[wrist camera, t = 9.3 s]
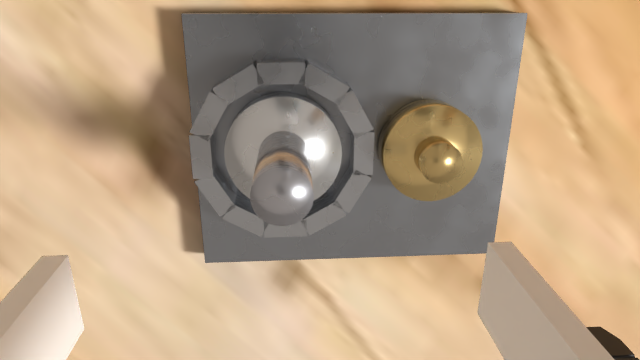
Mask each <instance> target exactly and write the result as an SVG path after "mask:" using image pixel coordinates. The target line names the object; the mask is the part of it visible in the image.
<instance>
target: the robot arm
mask: <svg viewBox="0 0 640 360" xmlns="http://www.w3.org/2000/svg"><path fill="white" fill-rule="evenodd" d="M478 315H479V317H480V318H481V320H482V322H483V324H484V325H485V327H486V329H487V331H488V332H489V334H490V336H491V337H492V339H493V341H494V343H495V344H496V346H497V348H498V349H499V351H500V353H501V355H502V356H503V358H504V360H639V359H638V358H635V356H634V354H633V353H632V352H631V351H630V349H629V348H628V347H627V346H626V345H625V344H624V343H623V342H622V341H621V340H620V339H619V338H617V337H615V336H614V335H612V334H611V333H609V332H608V331H606V330H605V329H603V328H601V327H585V325H584V324H583V323H582V322H581V321H580V320H579V319H578V317H577V316H576V315H575V314H574V313H573V312H572V311H571V309H570V308H569V307H568V306H567V305H566V304H565V303H564V301H563V300H562V299H561V298H560V297H559V296H558V295H557V293H556V292H555V291H554V290H553V289H552V288H551V287H550V285H549V284H548V283H547V282H546V281H545V280H544V279H543V277H542V276H541V275H540V274H539V273H538V272H537V271H536V269H535V268H534V267H533V266H532V265H531V264H530V263H529V262H528V260H527V259H526V258H525V257H524V256H523V255H522V254H521V252H520V251H519V250H518V249H517V248H516V247H515V246H514V244H513V243H512V242H490V243H488V246H487V253H486V260H485V266H484V273H483V279H482V286H481V293H480V299H479V306H478ZM83 330H84V325H83V321H82V316H81V312H80V307H79V303H78V298H77V294H76V289H75V285H74V280H73V275H72V271H71V266H70V262H69V257H68V255H60V256H42V257H41V258H40V259H39V260H38V261H37V262H36V263H35V264H34V266H33V267H32V268H31V269H30V270H29V271H28V272H27V273H26V274H25V276H24V277H23V278H22V279H21V280H20V281H19V282H18V283H17V284H16V286H15V287H14V288H13V289H12V290H11V291H10V292H9V293H8V294H7V296H6V297H5V298H4V299H3V300H2V301H1V302H0V360H66V359H67V357H68V355H69V354H70V352H71V350H72V349H73V347H74V345H75V344H76V342H77V340H78V338H79V337H80V335H81V333H82V332H83Z"/></svg>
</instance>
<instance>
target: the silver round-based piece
mask: <svg viewBox="0 0 640 360" xmlns="http://www.w3.org/2000/svg"><path fill="white" fill-rule="evenodd" d="M224 156H225V164H226V167H227V171H228V173H229V175H230V177H231V179H232V181H233V182H234V184H235V185H236V186H237V188H238V189H239V190H240V191H241V192H242V193H243V194H244V195H246V196H247V197H248V198H249V199H250V202H251V206H252V208H253V210H254V212H255V213H256V215H257V216H258V217H259V218H260V219H262V220H263V221H265V222H266V223H269V224H271V225H275V226H289V225H292V224H295V223H297V222H299V221H301V220H302V219H303V218H305V216H306V215H307V214H308V213H309V211H310V210H311V208H312V205H313V201H314V200H316V199H317V198H319V197H320V196H321V195H323V194H324V193H325V192H326V191H327V190H328V189H329V188H330V186H331V185H332V184H333V182H334V180H335V179H336V177H337V174H338V172H339V169H340V165H341V159H342V147H341V141H340V138H339V135H338V132H337V129H336V126H335V124H334V122H333V120H332V119H331V117H330V116H329V114H328V113H327V112H326V111H325V110H324V109H323V108H322V107H321V106H320V105H319V104H318V103H316V102H315V101H313V100H311V99H309V98H307V97H305V96H302V95H299V94H295V93H289V92H277V93H271V94H267V95H264V96H261V97H259V98H257V99H255V100H253V101H252V102H250V103H249V104H247V105H246V106H245V107H244V108H243V109H242V110H241V111H240V112H239V113H238V115H237V116H236V118H235V119H234V121H233V123H232V125H231V128H230V130H229V132H228V134H227V138H226V141H225V148H224Z"/></svg>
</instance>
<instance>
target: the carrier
mask: <svg viewBox="0 0 640 360" xmlns="http://www.w3.org/2000/svg"><path fill="white" fill-rule="evenodd" d="M526 20H527V13H182V24H183V35H184V45H185V56H186V66H187V77H188V87H189V98H190V108H191V119H192V128H191V130H190V134H189V143H190V153H191V163H192V173H193V179H196V180H195V184H196V185H197V186H198V192H199V202H200V213H201V223H202V234H203V244H204V255H205V263H212V262H242V261H272V260H301V259H331V258H360V257H390V256H420V255H449V254H479V253H487V246H488V243H490V242H494V238H495V232H496V225H497V218H498V211H499V204H500V197H501V191H502V184H503V177H504V170H505V163H506V156H507V150H508V143H509V136H510V129H511V122H512V115H513V109H514V102H515V95H516V88H517V81H518V74H519V68H520V61H521V54H522V47H523V40H524V33H525V27H526ZM277 92H289V93H295V94H299V95H302V96H305V97H307V98H309V99H311V100H313V101H315V102H316V103H318V104H319V105H320V106H321V107H322V108H323V109H324V110H325V111H326V112H327V113H328V114H329V116H330V117H331V119H332V120H333V122H334V124H335V126H336V129H337V132H338V135H339V138H340V141H341V147H342V159H341V165H340V169H339V172H338V174H337V177H336V179H335V180H334V182H333V184H332V185H331V186H330V188H329V189H328V190H327V191H326V192H325V193H324V194H323V195H321V196H320V197H319V198H317V199H316V200H314V201H313V205H312V208H311V210H310V211H309V213H308V214H307V215H306V216H305V218H303V219H302V220H301V221H299V222H297V223H295V224H292V225H289V226H275V225H271V224H269V223H266V222H265V221H263V220H262V219H260V218H259V217H258V216H257V215H256V213H255V212H254V210H253V208H252V206H251V202H250V199H249V198H248V197H247V196H246V195H244V194H243V193H242V192H241V191H240V190H239V189H238V188H237V186H236V185H235V184H234V182H233V181H232V179H231V177H230V175H229V173H228V171H227V167H226V164H225V156H224V148H225V141H226V138H227V134H228V132H229V130H230V128H231V125H232V123H233V121H234V119H235V118H236V116H237V115H238V113H239V112H240V111H241V110H242V109H243V108H244V107H245V106H246V105H247V104H249V103H250V102H252V101H253V100H255V99H257V98H259V97H261V96H264V95H267V94H271V93H277Z"/></svg>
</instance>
